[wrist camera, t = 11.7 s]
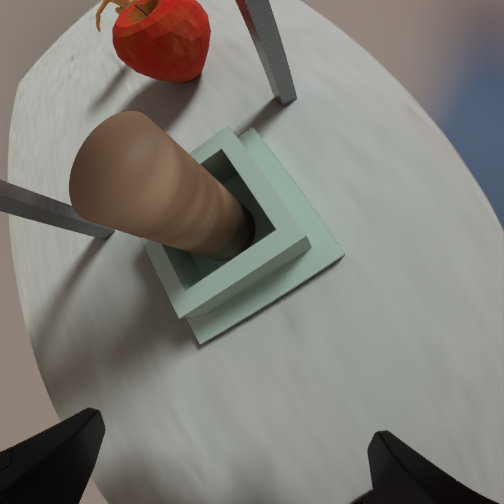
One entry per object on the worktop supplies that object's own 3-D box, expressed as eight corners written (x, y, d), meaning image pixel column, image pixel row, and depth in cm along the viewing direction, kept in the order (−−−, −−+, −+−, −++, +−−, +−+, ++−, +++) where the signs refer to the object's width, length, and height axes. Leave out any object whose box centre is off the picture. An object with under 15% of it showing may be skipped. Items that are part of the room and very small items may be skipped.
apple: (212, 35, 26) (170, -33, 16) (245, 72, 24) (201, -13, 14) (147, 76, 28) (92, 18, 18) (168, 120, 26) (99, 54, 15)
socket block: (344, 255, 20) (348, 243, 15) (205, 342, 22) (172, 353, 17) (255, 132, 23) (237, 98, 18) (142, 216, 25) (105, 201, 20)
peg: (256, 258, 21) (152, 211, 9) (198, 263, 22) (63, 229, 10) (253, 197, 21) (163, 96, 9) (197, 205, 22) (79, 130, 10)
